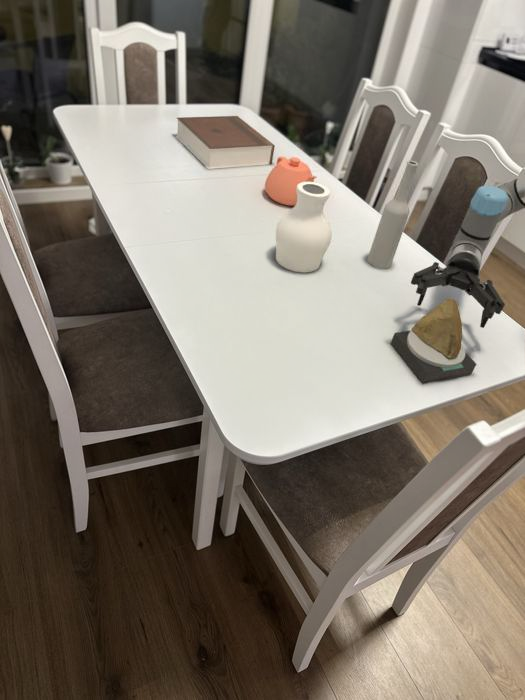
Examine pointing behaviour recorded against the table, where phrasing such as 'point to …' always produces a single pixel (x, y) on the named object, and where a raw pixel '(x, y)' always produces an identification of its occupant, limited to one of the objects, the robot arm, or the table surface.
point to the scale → (430, 358)
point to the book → (224, 141)
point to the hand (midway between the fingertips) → (452, 311)
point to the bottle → (392, 223)
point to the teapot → (287, 180)
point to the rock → (442, 328)
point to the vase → (304, 230)
